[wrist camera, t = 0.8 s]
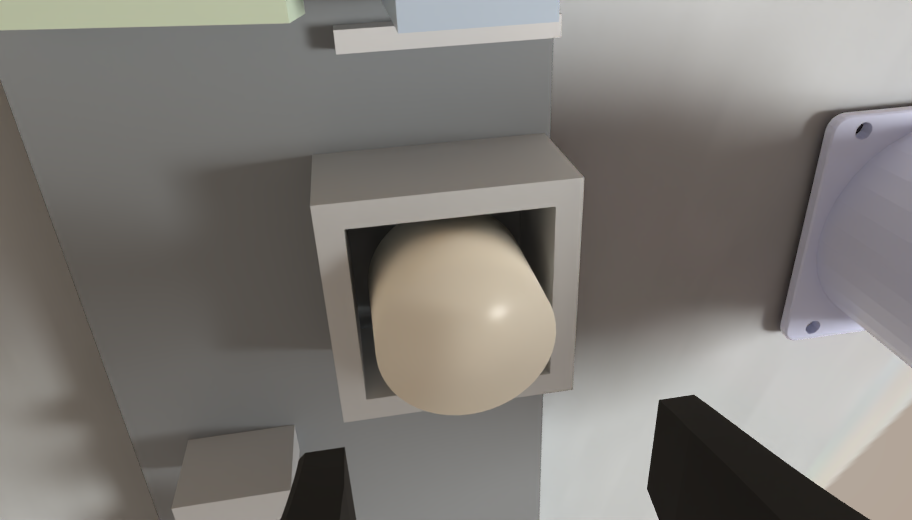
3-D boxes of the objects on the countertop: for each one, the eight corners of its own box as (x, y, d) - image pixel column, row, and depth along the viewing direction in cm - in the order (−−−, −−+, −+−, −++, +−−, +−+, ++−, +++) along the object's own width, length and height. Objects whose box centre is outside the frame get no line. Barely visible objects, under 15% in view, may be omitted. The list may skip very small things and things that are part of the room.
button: (523, 197, 16) (558, 253, 13) (522, 331, 18) (553, 402, 15) (359, 214, 15) (366, 276, 13) (375, 350, 17) (384, 427, 15)
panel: (534, -320, 14) (627, -410, 10) (523, 594, 29) (558, 719, 24) (-90, -316, 13) (-303, -420, 8) (230, 647, 27) (213, 791, 23)
